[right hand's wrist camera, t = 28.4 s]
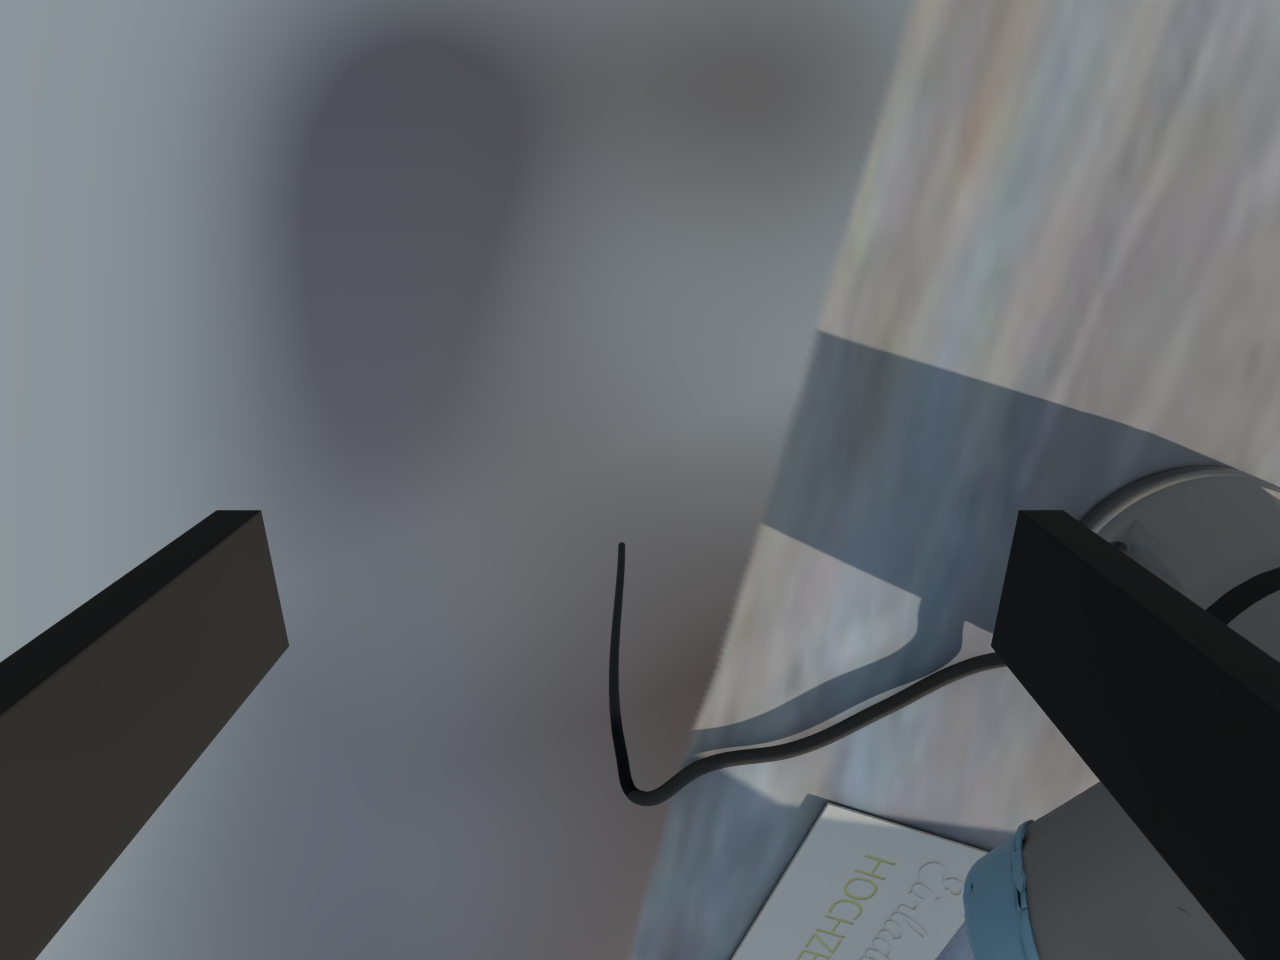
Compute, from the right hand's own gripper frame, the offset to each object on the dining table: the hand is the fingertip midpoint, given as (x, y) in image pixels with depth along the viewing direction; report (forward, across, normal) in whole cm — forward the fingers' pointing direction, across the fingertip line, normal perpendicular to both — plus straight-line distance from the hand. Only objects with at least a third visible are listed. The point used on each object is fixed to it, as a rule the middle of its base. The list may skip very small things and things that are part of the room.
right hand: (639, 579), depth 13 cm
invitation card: (+28, -17, +46) cm, 56 cm away
